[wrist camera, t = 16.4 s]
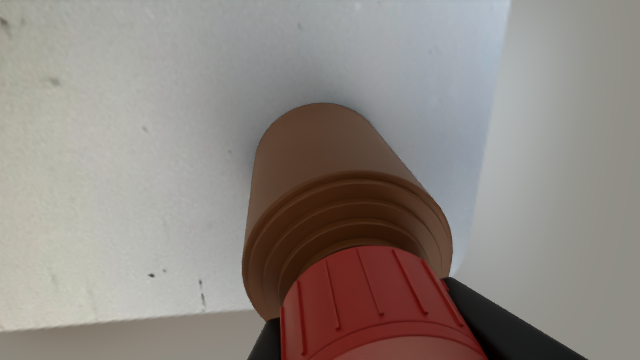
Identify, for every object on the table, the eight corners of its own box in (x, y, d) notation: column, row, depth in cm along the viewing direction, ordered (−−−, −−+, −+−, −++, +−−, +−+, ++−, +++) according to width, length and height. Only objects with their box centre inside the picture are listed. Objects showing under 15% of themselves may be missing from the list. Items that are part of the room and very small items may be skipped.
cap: (426, 370, 10) (471, 476, 8) (276, 376, 10) (277, 491, 7) (460, 243, 9) (530, 329, 6) (282, 242, 8) (286, 336, 6)
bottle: (371, 85, 16) (530, 214, 6) (394, 205, 19) (533, 433, 9) (235, 124, 16) (173, 313, 6) (276, 237, 19) (280, 503, 9)
